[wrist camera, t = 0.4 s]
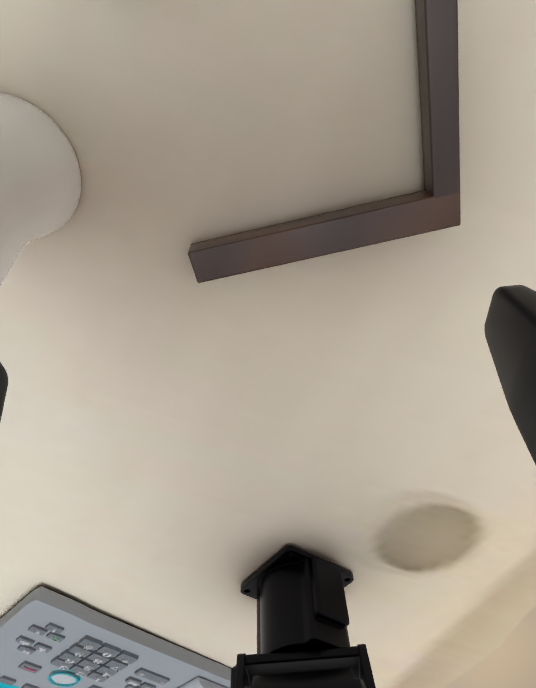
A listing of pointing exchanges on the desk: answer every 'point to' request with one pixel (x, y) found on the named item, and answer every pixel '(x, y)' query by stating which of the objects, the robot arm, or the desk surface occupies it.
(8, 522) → the desk surface
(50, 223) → the beer glass
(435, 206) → the frame
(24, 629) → the office telephone
